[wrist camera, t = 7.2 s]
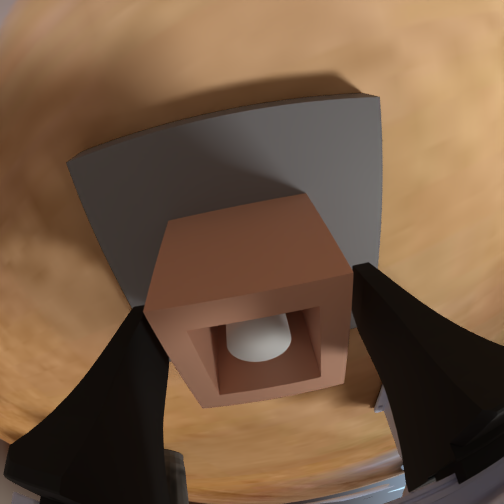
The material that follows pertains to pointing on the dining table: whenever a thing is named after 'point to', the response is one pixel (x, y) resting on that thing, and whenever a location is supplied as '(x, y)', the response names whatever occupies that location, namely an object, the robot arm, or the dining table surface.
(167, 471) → the beverage cup
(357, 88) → the dining table surface
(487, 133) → the dining table surface
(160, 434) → the robot arm
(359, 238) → the post board
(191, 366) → the collar
